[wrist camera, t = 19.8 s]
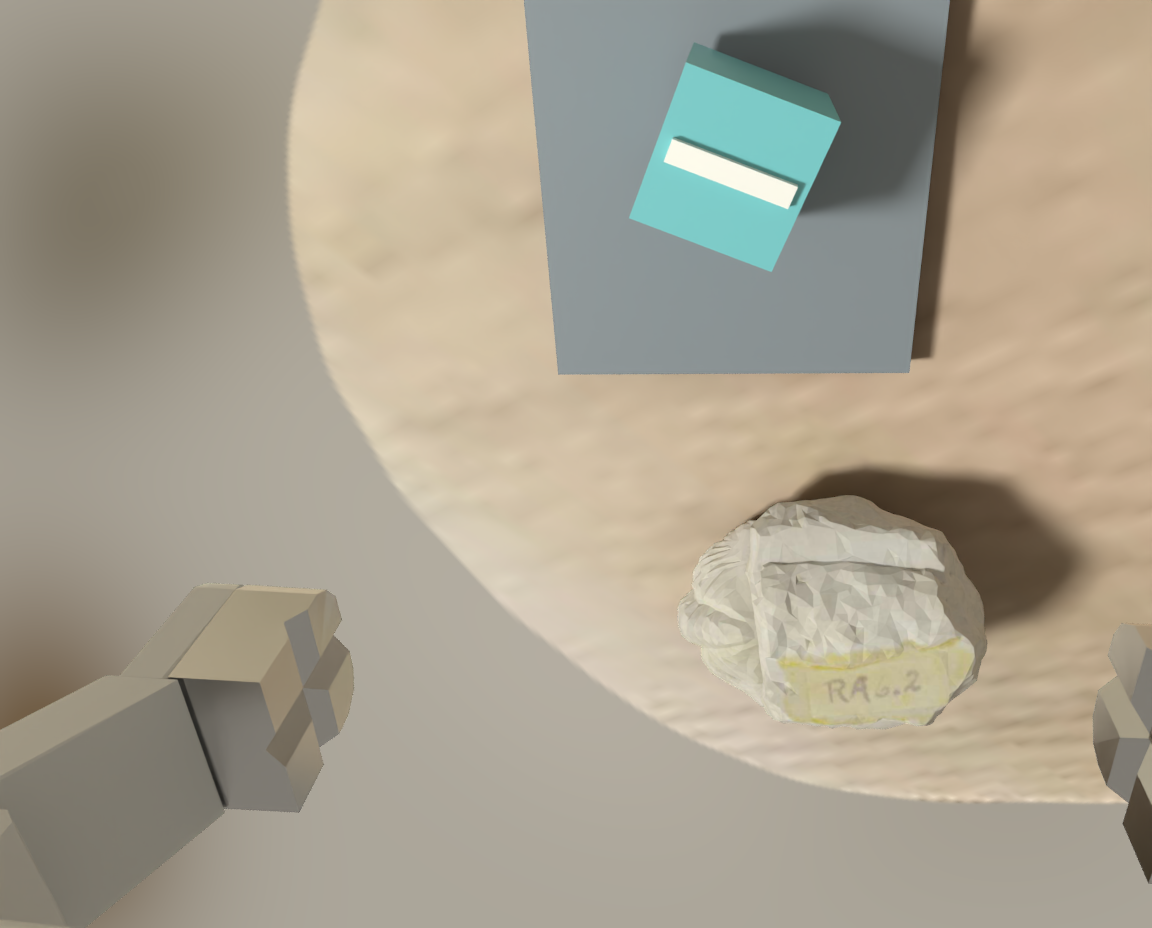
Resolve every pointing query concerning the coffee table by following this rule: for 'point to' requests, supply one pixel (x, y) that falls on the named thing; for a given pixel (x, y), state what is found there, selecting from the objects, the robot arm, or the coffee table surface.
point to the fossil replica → (837, 615)
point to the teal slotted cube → (735, 157)
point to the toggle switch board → (701, 275)
